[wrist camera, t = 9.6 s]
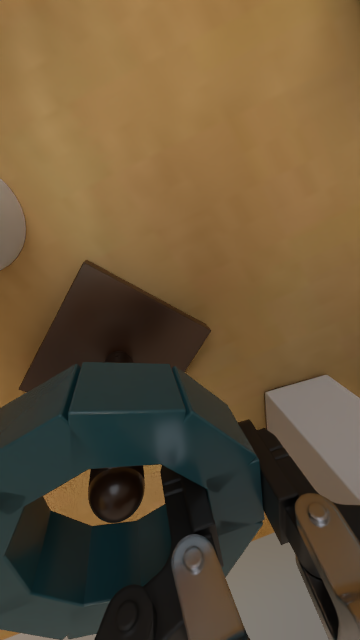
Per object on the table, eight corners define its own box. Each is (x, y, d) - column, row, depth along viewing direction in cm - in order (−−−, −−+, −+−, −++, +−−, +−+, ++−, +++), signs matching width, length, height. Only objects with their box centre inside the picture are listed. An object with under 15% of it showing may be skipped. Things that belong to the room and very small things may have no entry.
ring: (280, 412, 12) (322, 463, 10) (162, 567, 14) (171, 643, 12) (48, 307, 9) (16, 343, 6) (-66, 535, 11) (-127, 636, 8)
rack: (206, 324, 23) (309, 444, 10) (144, 420, 25) (168, 618, 12) (86, 259, 19) (20, 323, 7) (24, 379, 21) (-115, 602, 9)
